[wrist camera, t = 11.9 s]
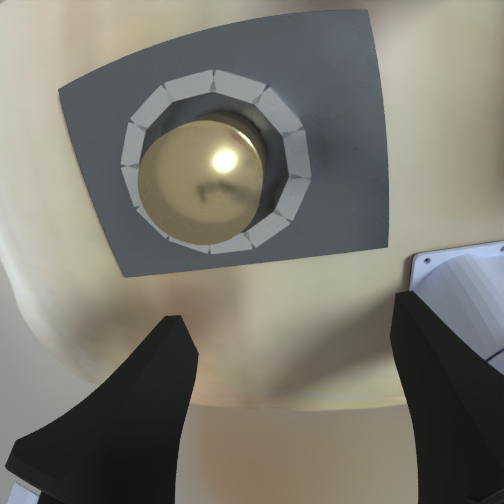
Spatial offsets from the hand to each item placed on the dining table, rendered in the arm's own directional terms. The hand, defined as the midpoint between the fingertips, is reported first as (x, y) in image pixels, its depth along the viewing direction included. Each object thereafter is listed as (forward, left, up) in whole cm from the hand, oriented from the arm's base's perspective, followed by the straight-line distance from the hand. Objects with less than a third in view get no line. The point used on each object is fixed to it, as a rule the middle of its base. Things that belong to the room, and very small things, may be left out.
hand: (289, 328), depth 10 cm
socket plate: (+3, -4, -9) cm, 11 cm away
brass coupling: (+3, -4, -9) cm, 10 cm away
